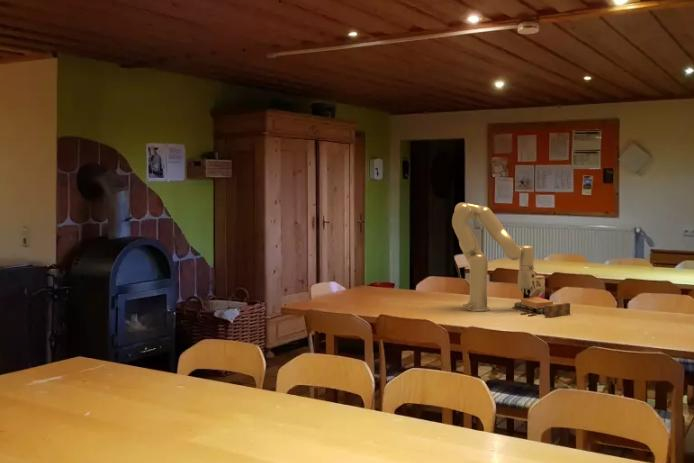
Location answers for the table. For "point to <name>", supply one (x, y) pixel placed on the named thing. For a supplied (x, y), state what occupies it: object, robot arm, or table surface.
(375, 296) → the table surface
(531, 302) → the slab
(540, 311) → the roller
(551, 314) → the rail
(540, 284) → the candy bar box
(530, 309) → the roller track
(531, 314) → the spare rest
